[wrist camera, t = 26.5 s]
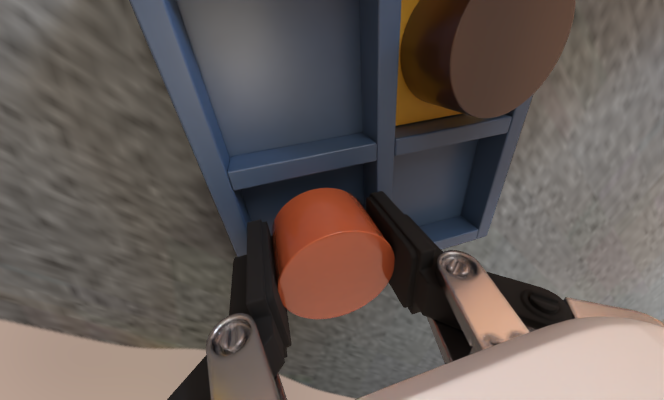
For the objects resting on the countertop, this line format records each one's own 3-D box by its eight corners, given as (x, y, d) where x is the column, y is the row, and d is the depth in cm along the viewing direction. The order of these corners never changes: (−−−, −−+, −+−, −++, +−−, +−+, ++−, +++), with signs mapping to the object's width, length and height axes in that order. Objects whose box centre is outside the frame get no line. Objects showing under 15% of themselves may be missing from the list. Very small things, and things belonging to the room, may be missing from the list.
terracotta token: (364, 177, 10) (399, 216, 8) (365, 251, 13) (393, 299, 10) (260, 200, 10) (263, 251, 7) (282, 275, 12) (290, 332, 10)
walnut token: (508, -29, 9) (602, -57, 7) (481, 95, 12) (543, 108, 9) (403, -22, 8) (466, -52, 6) (396, 110, 11) (440, 128, 8)
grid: (538, -79, 9) (600, -107, 8) (464, 218, 17) (487, 236, 15) (122, -71, 7) (81, -110, 5) (256, 275, 14) (257, 305, 13)
